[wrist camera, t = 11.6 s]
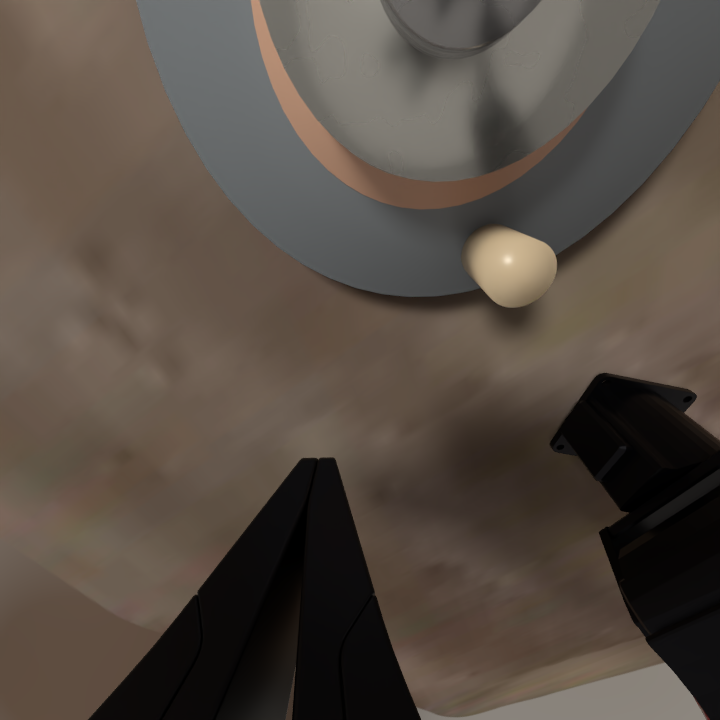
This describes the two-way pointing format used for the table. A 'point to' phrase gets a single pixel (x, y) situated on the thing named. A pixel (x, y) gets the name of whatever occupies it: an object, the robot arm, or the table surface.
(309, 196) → the turntable
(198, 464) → the table surface
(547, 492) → the table surface
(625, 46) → the cover
